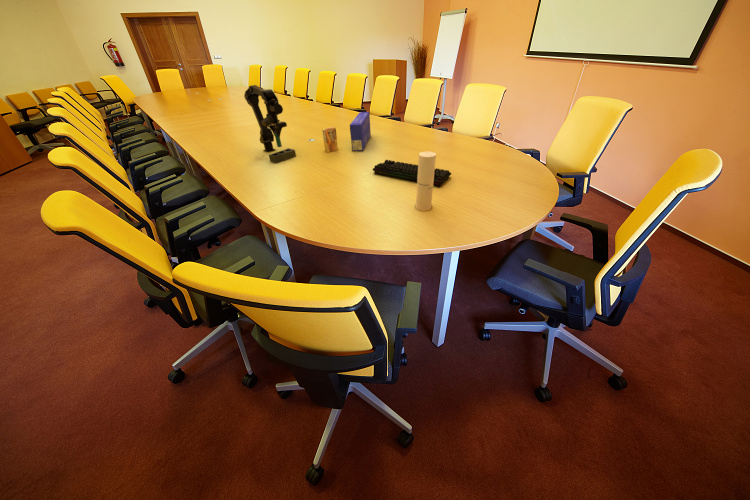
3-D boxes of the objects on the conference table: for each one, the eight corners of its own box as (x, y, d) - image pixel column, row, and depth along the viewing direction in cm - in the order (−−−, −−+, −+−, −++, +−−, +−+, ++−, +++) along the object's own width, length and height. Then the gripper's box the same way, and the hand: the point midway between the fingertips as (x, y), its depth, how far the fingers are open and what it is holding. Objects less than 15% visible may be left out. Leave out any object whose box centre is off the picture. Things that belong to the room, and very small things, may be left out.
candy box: (335, 148, 213) (332, 126, 204) (338, 149, 210) (335, 127, 201) (324, 151, 208) (321, 128, 199) (328, 152, 206) (325, 130, 197)
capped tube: (276, 146, 199) (272, 130, 193) (279, 145, 201) (276, 129, 195) (279, 147, 198) (275, 131, 192) (282, 146, 200) (279, 130, 194)
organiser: (270, 161, 194) (268, 155, 192) (290, 154, 205) (288, 148, 202) (276, 163, 191) (274, 156, 188) (296, 156, 202) (294, 149, 199)
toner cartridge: (360, 136, 237) (359, 111, 226) (371, 136, 236) (369, 111, 225) (351, 151, 206) (349, 124, 195) (363, 151, 205) (361, 124, 194)
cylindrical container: (414, 204, 139) (417, 152, 124) (429, 203, 139) (433, 151, 124) (417, 211, 133) (420, 157, 118) (432, 210, 133) (437, 156, 118)
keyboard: (450, 177, 163) (452, 168, 160) (440, 188, 152) (441, 179, 149) (386, 165, 182) (386, 157, 179) (372, 174, 170) (372, 166, 168)
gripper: (252, 112, 186) (259, 137, 195) (270, 116, 177) (276, 142, 186) (266, 109, 193) (272, 133, 202) (284, 112, 184) (289, 137, 193)
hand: (277, 136), depth 196 cm, fingers closed on capped tube, 3 cm apart
